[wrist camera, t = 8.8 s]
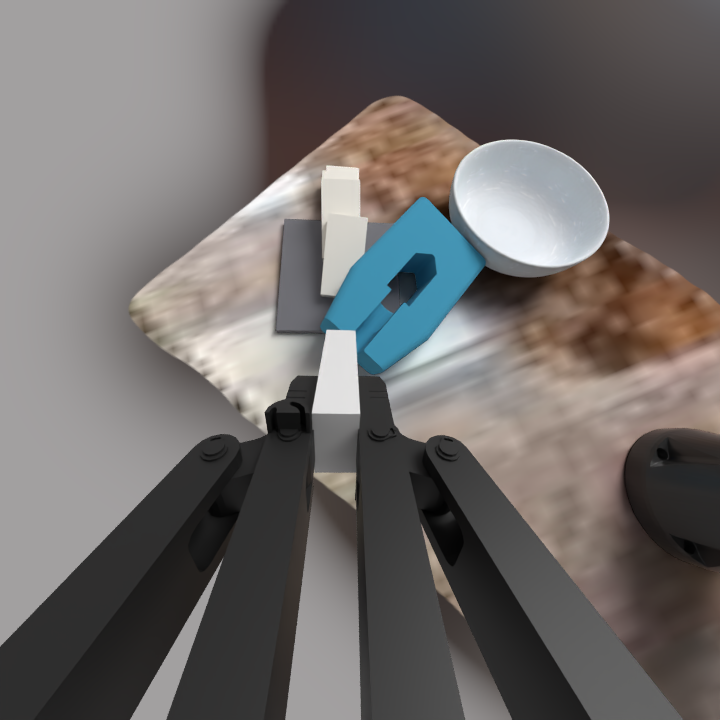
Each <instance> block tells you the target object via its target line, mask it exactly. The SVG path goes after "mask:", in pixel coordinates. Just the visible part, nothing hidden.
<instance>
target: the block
mask: <svg viewBox="0 0 720 720" xmlns="http://www.w3.org/2000/svg"><path fill="white" fill-rule="evenodd" d="M485 265H486V261H485V259H484V258H483V257H482V255H481V254H480V253H479V252H478V251H477V250H476V249H475V248H474V247H473V246H472V245H471V244H470V243H469V242H468V241H467V240H466V239H465V238H464V237H463V236H462V235H461V234H460V233H459V231H458V230H457V229H456V228H455V227H454V226H453V225H452V224H451V223H450V222H449V221H448V220H447V219H446V218H445V217H444V216H443V215H442V214H441V213H440V212H439V211H438V210H437V209H436V208H435V206H434V205H433V204H432V203H431V202H430V201H429V200H428V199H427V198H425V197H421V198H419V199H418V200H417V201H416V202H415V203H414V204H413V205H412V206H411V207H410V208H409V209H408V210H407V211H406V212H405V213H404V214H403V215H402V216H401V217H400V218H399V219H398V220H397V221H396V222H395V223H394V224H393V225H392V226H391V227H390V228H389V229H388V230H387V231H386V232H385V233H384V234H383V235H382V236H381V237H380V238H379V239H378V240H377V241H376V242H375V243H374V244H373V245H372V246H371V248H370V249H369V250H368V251H367V252H366V253H365V254H364V255H363V256H362V257H361V258H360V259H359V260H358V261H357V262H356V263H355V264H354V265H353V266H352V267H351V268H350V270H349V272H348V273H347V275H346V277H345V279H344V281H343V283H342V285H341V287H340V289H339V291H338V293H337V294H336V296H335V298H334V300H333V302H332V304H331V306H330V308H329V310H328V312H327V314H326V316H325V317H324V319H323V321H322V323H321V325H320V328H321V330H322V331H323V332H324V333H325V334H326V331H327V330H352V331H355V332H356V349H357V363H358V364H359V365H360V366H361V367H362V368H364V369H365V370H366V371H367V372H369V373H370V374H373V375H374V374H378V373H382V372H384V371H385V370H386V369H388V368H389V367H391V366H392V365H393V364H395V363H396V362H398V361H399V360H400V359H402V358H403V357H405V356H406V355H407V354H409V353H410V352H411V351H413V350H414V349H416V348H417V347H418V346H420V345H421V344H423V343H424V342H425V341H427V340H428V339H429V337H430V336H431V335H432V334H433V332H434V331H435V330H436V328H437V327H438V326H439V325H440V323H441V322H442V321H443V319H444V318H445V317H446V315H447V314H448V313H449V312H450V310H451V309H452V308H453V306H454V305H455V304H456V302H457V301H458V300H459V299H460V297H461V296H462V295H463V293H464V292H465V291H466V290H467V288H468V287H469V286H470V284H471V283H472V282H473V280H474V279H475V278H476V277H477V275H478V274H479V273H480V271H481V270H482V269H483V268H484V266H485ZM398 272H409V273H414V274H415V278H416V287H417V291H416V292H415V293H414V294H413V295H412V296H411V298H410V299H409V300H408V301H407V302H406V303H405V302H404V303H403V304H402V305H401V306H400V307H399V308H398V309H397V310H396V311H395V313H392V312H390V311H388V310H387V309H386V308H385V307H384V306H383V305H382V304H381V301H382V300H383V299H384V298H385V297H386V295H387V294H388V293H389V292H390V291H391V289H390V288H389V287H388V286H387V284H388V283H389V282H390V281H391V280H392V279H393V278H394V276H395V275H396V274H397V273H398Z"/></svg>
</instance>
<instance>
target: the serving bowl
mask: <svg viewBox="0 0 720 720" xmlns="http://www.w3.org/2000/svg"><path fill="white" fill-rule="evenodd" d="M449 214H450V219H451V223H452V225H453V226H454V227H455V228H456V229H457V230H458V231H459V233H460V234H461V235H462V236H463V237H464V238H465V239H466V240H467V241H468V242H469V243H470V244H471V245H472V246H473V247H474V248H475V249H476V250H477V251H478V252H479V253H480V254H481V255H482V257H483V258H484V259H485V261H486V265H485V266H487V267H488V268H490V269H492V270H495V271H497V272H500V273H503V274H507V275H511V276H517V277H541V276H547V275H551V274H555V273H558V272H561V271H564V270H566V269H568V268H570V267H572V266H574V265H576V264H578V263H580V262H582V261H584V260H585V259H587V258H588V257H590V256H591V255H592V254H593V253H595V252H596V251H597V250H598V248H599V247H600V246H601V244H602V243H603V241H604V239H605V237H606V234H607V231H608V227H609V211H608V206H607V202H606V200H605V197H604V195H603V193H602V191H601V189H600V187H599V186H598V184H597V183H596V181H595V180H594V179H593V177H592V176H591V175H590V174H589V173H588V172H587V171H586V170H585V169H584V168H583V167H582V166H581V165H579V164H578V163H577V162H576V161H574V160H573V159H571V158H570V157H568V156H566V155H565V154H563V153H561V152H559V151H557V150H555V149H553V148H550V147H548V146H545V145H542V144H539V143H535V142H530V141H522V140H501V141H495V142H491V143H487V144H485V145H482V146H480V147H478V148H476V149H474V150H473V151H471V152H470V153H469V154H468V155H467V156H466V157H465V158H464V159H463V160H462V161H461V162H460V164H459V166H458V167H457V170H456V172H455V175H454V178H453V181H452V185H451V190H450V196H449Z"/></svg>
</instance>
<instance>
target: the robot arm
mask: <svg viewBox="0 0 720 720" xmlns="http://www.w3.org/2000/svg"><path fill="white" fill-rule="evenodd" d="M265 417H266V424H267V430H268V434H267V435H265V436H263V437H261V438H258V439H255V440H251V441H247V442H243V443H239V441H238V440H237V439H236V437H234V436H231V435H226V434H220V435H216V436H211V437H209V438H207V439H205V440H203V441H201V442H200V443H199V444H197V445H196V446H195V447H194V448H193V449H192V450H191V451H190V452H189V453H188V454H187V455H186V456H185V457H184V458H183V459H182V460H181V461H180V462H179V463H178V464H177V465H176V466H175V467H174V468H173V470H172V471H170V472H169V474H168V475H167V476H166V477H165V478H164V479H163V480H162V481H161V482H160V483H159V484H158V485H157V486H156V487H155V488H154V489H153V490H152V491H151V492H150V493H149V494H148V495H147V496H146V497H145V498H144V499H143V500H142V501H141V502H140V503H139V504H138V505H137V507H135V509H134V510H133V511H132V512H131V513H130V514H129V515H128V516H127V517H126V518H125V519H124V520H123V521H122V522H121V523H120V524H119V525H118V526H117V527H116V528H115V529H114V530H113V531H112V532H111V533H110V534H109V535H108V536H107V537H106V538H105V540H103V542H102V543H101V544H100V545H99V546H98V547H97V548H96V549H95V550H94V551H93V552H92V553H91V554H90V555H89V556H88V557H87V558H86V559H85V560H84V561H83V562H82V563H81V564H80V565H79V566H78V567H77V568H76V569H75V570H74V571H73V572H72V573H71V574H70V575H69V576H68V578H67V579H66V580H65V581H64V582H63V583H62V584H61V585H60V586H59V587H58V588H57V589H56V590H55V591H54V592H53V593H52V594H51V595H50V596H49V597H48V598H47V599H46V600H45V601H44V602H43V603H42V604H41V605H40V606H39V607H38V608H37V609H36V611H35V612H34V613H33V614H32V615H31V616H30V617H29V618H28V619H27V620H26V621H25V622H24V623H23V624H22V625H21V626H20V627H19V628H18V629H17V630H16V631H15V632H14V633H13V634H12V635H11V636H10V637H9V638H8V639H7V640H6V641H5V642H4V643H3V644H2V645H1V647H0V720H130V719H131V717H132V715H133V713H134V712H135V710H136V708H137V706H138V705H139V703H140V701H141V699H142V697H143V696H144V694H145V692H146V690H147V689H148V687H149V685H150V684H151V682H152V680H153V679H154V677H155V675H156V673H157V672H158V670H159V668H160V666H161V665H162V663H163V661H164V659H165V658H166V656H167V654H168V653H169V651H170V649H171V647H172V646H173V644H174V642H175V640H176V639H177V637H178V635H179V633H180V632H181V630H182V628H183V626H184V625H185V623H186V621H187V619H188V618H189V616H190V614H191V613H192V611H193V609H194V607H195V606H196V604H197V602H198V600H199V599H200V597H201V595H202V593H203V592H204V590H205V588H206V587H207V585H208V583H209V581H210V580H211V578H212V576H213V574H214V573H215V571H216V569H217V567H218V566H219V564H220V562H221V561H222V559H223V561H222V564H221V567H220V570H219V572H218V575H217V578H216V581H215V584H214V587H213V590H212V593H211V595H210V598H209V601H208V604H207V606H206V609H205V612H204V615H203V618H202V621H201V623H200V626H199V629H198V632H197V635H196V638H195V641H194V643H193V646H192V649H191V652H190V655H189V657H188V660H187V663H186V666H185V668H184V672H183V674H182V677H181V680H180V683H179V686H178V688H177V691H176V694H175V697H174V700H173V702H172V705H171V708H170V711H169V714H168V716H167V720H285V716H286V708H287V700H288V692H289V683H290V675H291V667H292V658H293V651H294V643H295V634H296V626H297V618H298V610H299V601H300V593H301V585H302V577H303V569H304V560H305V552H306V544H307V536H308V528H309V520H310V512H311V503H312V495H313V487H314V486H313V473H314V471H315V472H356V492H355V500H356V515H357V558H358V600H359V643H360V686H361V720H465V717H464V713H463V708H462V704H461V699H460V695H459V690H458V687H457V682H456V677H455V673H454V668H453V664H452V660H451V656H450V651H449V646H448V642H447V638H446V633H445V628H444V624H443V620H442V615H441V611H440V606H439V602H438V598H437V593H436V589H435V584H434V580H433V575H432V571H431V567H430V562H429V558H428V553H427V549H426V545H425V540H424V536H423V531H422V527H421V524H422V526H423V528H424V531H425V533H426V535H427V537H428V539H429V541H430V543H431V546H432V548H433V550H434V552H435V554H436V556H437V558H438V561H439V563H440V565H441V567H442V569H443V571H444V574H445V576H446V578H447V580H448V582H449V584H450V586H451V589H452V591H453V593H454V595H455V597H456V599H457V601H458V604H459V606H460V608H461V610H462V612H463V614H464V617H465V619H466V621H467V623H468V625H469V627H470V629H471V632H472V634H473V636H474V638H475V640H476V642H477V644H478V646H479V649H480V651H481V653H482V655H483V657H484V659H485V662H486V664H487V666H488V668H489V670H490V672H491V675H492V677H493V679H494V681H495V683H496V685H497V687H498V690H499V692H500V694H501V696H502V698H503V700H504V702H505V704H506V707H507V709H508V711H509V713H510V715H511V717H512V720H683V718H682V717H681V716H680V715H679V713H678V712H677V711H676V710H675V708H674V707H673V706H672V705H671V703H670V702H669V701H668V700H667V698H666V697H665V696H664V695H663V693H662V692H661V691H660V690H659V688H658V687H657V686H656V685H655V683H654V682H653V681H652V680H651V678H650V677H649V676H648V675H647V673H646V672H645V671H644V669H643V668H642V667H641V666H640V664H639V663H638V662H637V661H636V659H635V658H634V657H633V656H632V654H631V653H630V652H629V651H628V649H627V648H626V647H625V646H624V644H623V643H622V642H621V641H620V639H619V638H618V637H617V636H616V634H615V633H614V632H613V631H612V629H611V628H610V627H609V626H608V624H607V623H606V622H605V621H604V619H603V618H602V617H601V616H600V614H599V613H598V612H597V611H596V609H595V608H594V607H593V605H592V604H591V603H590V602H589V600H588V599H587V598H586V597H585V595H584V594H583V593H582V592H581V590H580V589H579V588H578V587H577V585H576V584H575V583H574V582H573V580H572V579H571V578H570V577H569V575H568V574H567V573H566V572H565V570H564V569H563V568H562V567H561V565H560V564H559V563H558V562H557V560H556V559H555V558H554V557H553V555H552V554H551V553H550V552H549V550H548V549H547V548H546V546H545V545H544V544H543V543H542V541H541V540H540V539H539V538H538V536H537V535H536V534H535V533H534V531H533V530H532V529H531V528H530V526H529V525H528V524H527V523H526V521H525V520H524V519H523V518H522V516H521V515H520V514H519V513H518V511H517V510H516V509H515V508H514V506H513V505H512V504H511V503H510V501H509V500H508V499H507V498H506V496H505V495H504V494H503V493H502V491H501V490H500V489H499V488H498V486H497V485H496V484H495V482H494V481H493V480H492V479H491V477H490V476H489V475H488V474H487V472H486V471H485V470H484V469H483V467H482V466H481V465H480V464H479V462H478V461H477V460H476V459H475V457H474V456H473V455H472V454H471V452H470V451H469V450H468V449H467V447H466V446H464V445H463V444H462V443H461V442H460V441H458V440H456V439H455V438H453V437H449V436H445V435H438V436H434V437H431V438H430V439H429V440H428V441H427V442H426V443H423V442H419V441H415V440H412V439H409V438H407V437H405V436H404V435H402V434H401V433H400V432H399V430H398V428H397V427H396V426H395V425H394V422H393V418H392V413H391V408H390V403H389V399H388V394H387V389H386V384H385V383H384V381H383V380H382V379H381V378H380V377H371V376H358V367H357V349H356V332H355V331H352V330H327V331H326V336H325V342H324V347H323V353H322V359H321V364H320V370H319V375H318V376H297V377H296V378H295V379H294V380H293V381H292V382H291V384H290V387H289V390H288V393H287V396H286V399H285V400H281V401H278V402H275V403H274V404H272V405H271V406H269V407H268V408H267V410H266V411H265ZM625 480H626V488H627V493H628V497H629V500H630V503H631V506H632V508H633V511H634V513H635V515H636V517H637V519H638V520H639V522H640V524H641V525H642V527H643V528H644V529H645V531H646V532H647V533H648V535H649V536H650V537H651V538H652V539H653V540H654V541H655V542H656V543H657V544H658V545H659V546H660V547H661V548H663V549H664V550H665V551H667V552H668V553H669V554H671V555H673V556H674V557H676V558H678V559H680V560H682V561H685V562H688V563H690V564H693V565H696V566H698V567H701V568H704V569H707V570H710V571H713V572H717V573H720V435H719V434H715V433H711V432H706V431H702V430H697V429H688V428H668V429H657V430H654V431H651V432H649V433H647V434H645V435H643V436H642V437H641V438H640V439H638V441H637V442H636V443H635V444H634V446H633V447H632V449H631V451H630V453H629V456H628V459H627V463H626V470H625ZM224 555H225V556H224ZM223 557H224V558H223Z"/></svg>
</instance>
